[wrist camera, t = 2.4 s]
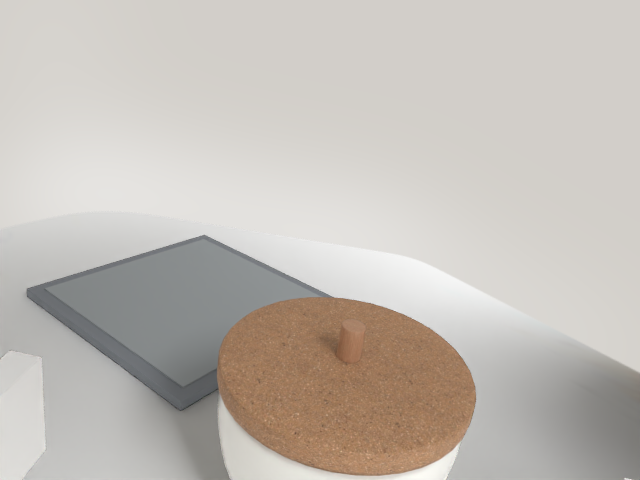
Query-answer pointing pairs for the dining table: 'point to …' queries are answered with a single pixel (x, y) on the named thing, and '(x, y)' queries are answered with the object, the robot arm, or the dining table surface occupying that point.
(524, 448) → the dining table surface
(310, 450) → the lidded jar
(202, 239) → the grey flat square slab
